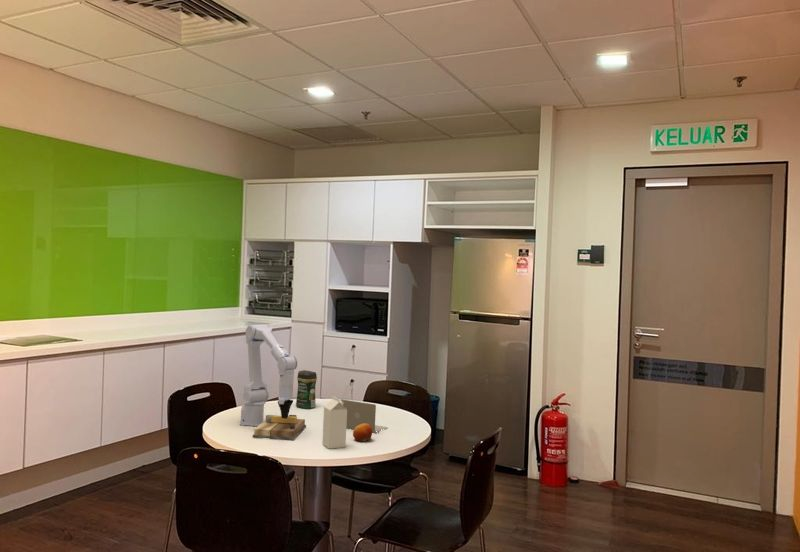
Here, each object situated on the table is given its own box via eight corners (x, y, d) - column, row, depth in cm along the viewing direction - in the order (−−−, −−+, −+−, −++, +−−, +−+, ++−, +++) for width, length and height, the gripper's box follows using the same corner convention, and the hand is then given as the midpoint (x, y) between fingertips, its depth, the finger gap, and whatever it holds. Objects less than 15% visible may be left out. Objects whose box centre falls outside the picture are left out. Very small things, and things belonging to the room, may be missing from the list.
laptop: (388, 429, 265) (389, 399, 265) (374, 435, 253) (375, 404, 254) (353, 423, 273) (355, 394, 273) (339, 428, 262) (340, 399, 262)
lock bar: (264, 422, 250) (264, 416, 250) (266, 420, 253) (266, 414, 253) (295, 423, 250) (295, 418, 250) (296, 421, 253) (297, 416, 253)
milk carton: (328, 449, 228) (330, 400, 228) (322, 444, 234) (324, 396, 234) (345, 447, 231) (347, 399, 231) (338, 442, 237) (341, 395, 238)
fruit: (368, 441, 236) (361, 422, 239) (354, 448, 240) (347, 429, 242) (380, 437, 243) (372, 419, 246) (366, 444, 247) (358, 426, 249)
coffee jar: (293, 407, 299) (294, 370, 299) (304, 404, 305) (305, 368, 305) (307, 410, 293) (309, 372, 293) (318, 407, 300) (319, 371, 300)
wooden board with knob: (252, 437, 239) (253, 421, 239) (268, 424, 261) (268, 410, 261) (293, 440, 238) (294, 424, 238) (305, 427, 260) (306, 412, 260)
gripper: (291, 389, 238) (289, 422, 238) (299, 382, 253) (298, 414, 253) (274, 388, 239) (272, 421, 239) (283, 382, 253) (282, 413, 253)
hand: (284, 418), depth 246 cm, fingers closed
